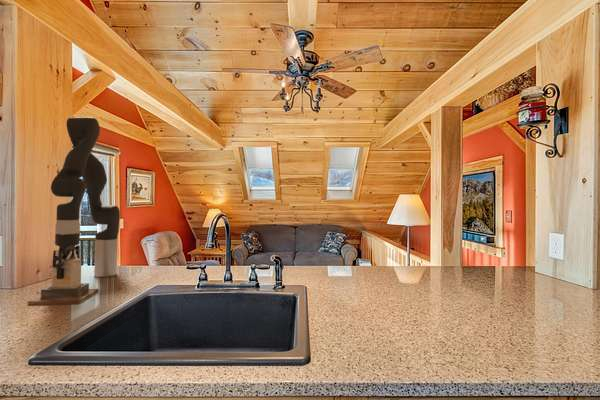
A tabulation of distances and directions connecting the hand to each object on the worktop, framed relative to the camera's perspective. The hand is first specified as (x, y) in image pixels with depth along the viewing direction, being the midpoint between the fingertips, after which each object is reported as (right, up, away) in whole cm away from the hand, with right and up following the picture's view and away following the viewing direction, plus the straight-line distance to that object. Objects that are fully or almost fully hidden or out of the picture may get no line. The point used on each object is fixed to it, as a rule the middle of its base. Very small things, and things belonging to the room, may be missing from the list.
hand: (66, 276), depth 128 cm
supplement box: (0, -7, 0) cm, 7 cm away
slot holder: (0, -8, 0) cm, 8 cm away
